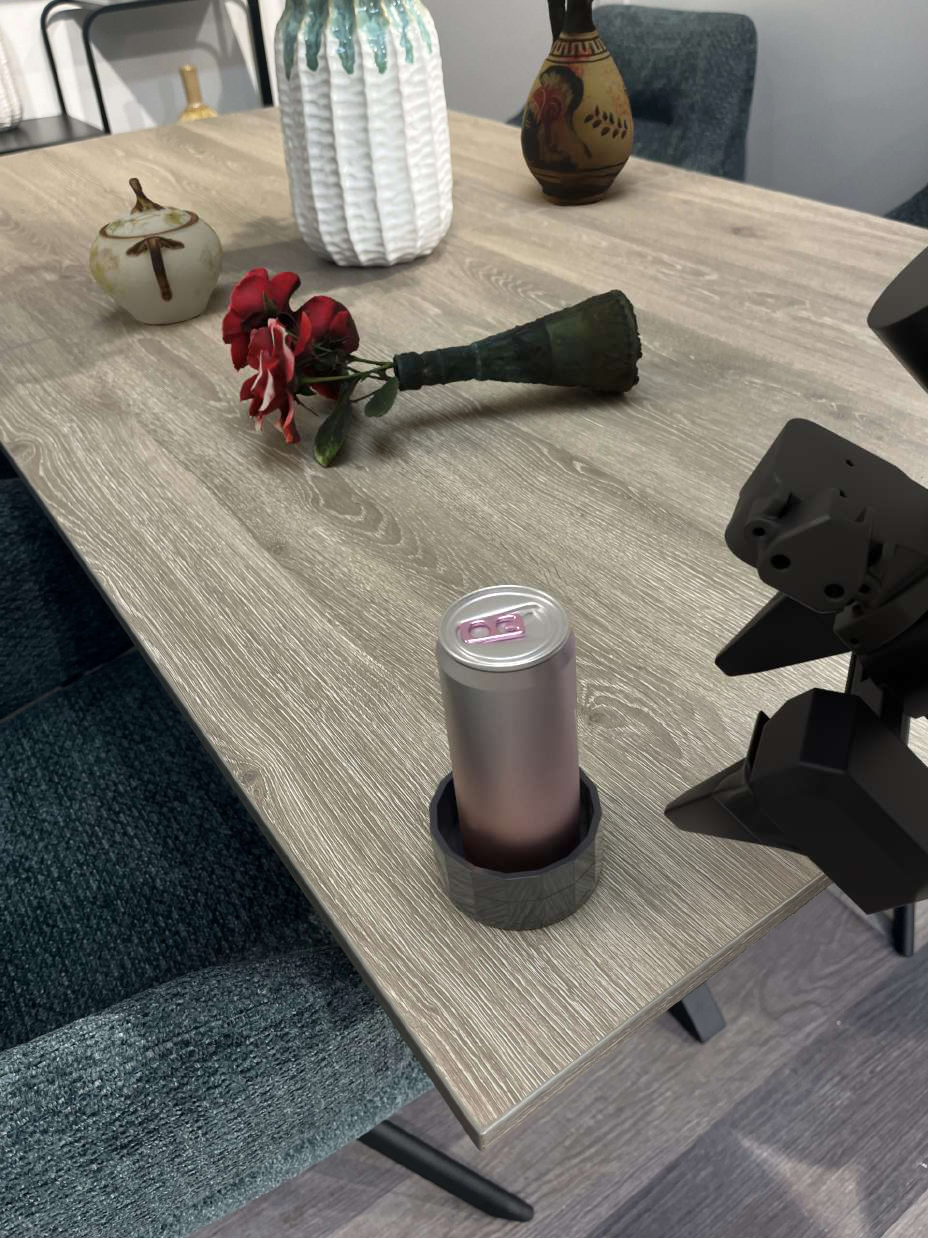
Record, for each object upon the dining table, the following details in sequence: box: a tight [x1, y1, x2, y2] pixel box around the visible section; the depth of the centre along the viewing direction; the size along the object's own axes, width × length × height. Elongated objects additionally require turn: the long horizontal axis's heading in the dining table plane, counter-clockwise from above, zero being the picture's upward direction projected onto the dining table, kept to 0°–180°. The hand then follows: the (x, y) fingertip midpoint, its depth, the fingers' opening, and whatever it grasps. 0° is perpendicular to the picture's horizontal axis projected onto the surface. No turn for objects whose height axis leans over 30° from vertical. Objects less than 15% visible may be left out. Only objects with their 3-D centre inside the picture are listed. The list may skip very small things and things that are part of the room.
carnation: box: [221, 267, 644, 468], centre depth 90 cm, size 16×18×35 cm
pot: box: [428, 765, 604, 931], centre depth 51 cm, size 8×8×4 cm
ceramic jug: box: [520, 0, 635, 206], centre depth 134 cm, size 17×15×30 cm
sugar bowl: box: [88, 177, 224, 325], centre depth 115 cm, size 20×15×15 cm
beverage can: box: [435, 584, 581, 873], centre depth 47 cm, size 6×6×15 cm
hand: (698, 737), depth 42 cm, fingers open, 9 cm apart
